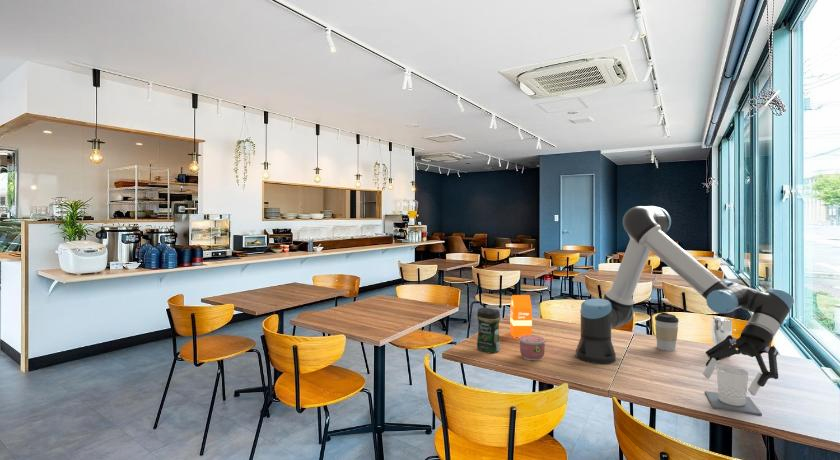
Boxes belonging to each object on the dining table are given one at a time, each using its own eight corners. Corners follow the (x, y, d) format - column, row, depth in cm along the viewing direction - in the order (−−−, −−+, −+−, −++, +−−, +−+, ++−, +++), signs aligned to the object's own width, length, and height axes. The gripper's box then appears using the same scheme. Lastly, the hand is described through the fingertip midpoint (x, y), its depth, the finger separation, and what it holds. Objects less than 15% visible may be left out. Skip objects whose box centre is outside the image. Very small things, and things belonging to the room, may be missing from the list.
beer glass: (725, 358, 172) (726, 321, 171) (707, 353, 178) (708, 318, 178) (734, 355, 175) (735, 319, 175) (716, 350, 181) (717, 315, 181)
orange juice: (531, 338, 201) (532, 296, 200) (513, 338, 201) (513, 296, 201) (528, 333, 209) (528, 293, 208) (510, 333, 209) (510, 293, 208)
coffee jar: (474, 350, 184) (474, 308, 184) (483, 345, 190) (483, 305, 190) (493, 355, 178) (493, 311, 177) (502, 350, 184) (502, 308, 183)
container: (516, 359, 173) (516, 340, 172) (522, 352, 182) (522, 333, 182) (542, 363, 168) (542, 343, 167) (547, 355, 177) (547, 336, 177)
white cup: (710, 396, 136) (710, 365, 135) (732, 395, 136) (733, 364, 136) (730, 407, 128) (731, 375, 127) (754, 406, 128) (755, 374, 128)
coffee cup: (681, 352, 179) (682, 317, 179) (658, 351, 181) (659, 316, 181) (673, 345, 188) (674, 312, 188) (651, 344, 190) (651, 311, 189)
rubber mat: (713, 408, 129) (713, 406, 129) (704, 392, 140) (704, 390, 140) (761, 415, 124) (761, 413, 124) (749, 398, 135) (749, 397, 135)
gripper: (812, 349, 125) (778, 408, 120) (725, 328, 148) (694, 376, 144) (801, 334, 123) (767, 393, 118) (715, 314, 146) (683, 363, 141)
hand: (727, 384), depth 131 cm, fingers open, 13 cm apart
